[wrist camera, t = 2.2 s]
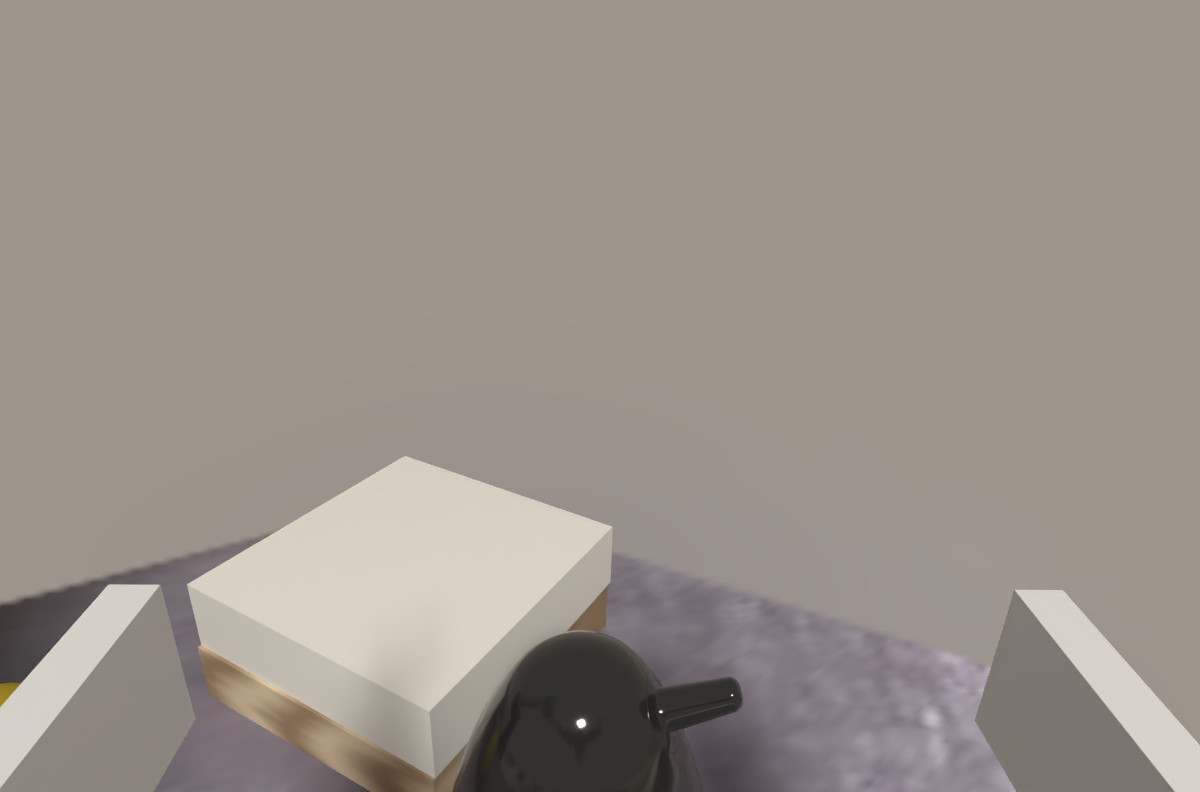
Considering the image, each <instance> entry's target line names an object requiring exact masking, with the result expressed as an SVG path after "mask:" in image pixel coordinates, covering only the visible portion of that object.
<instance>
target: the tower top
mask: <svg viewBox="0 0 1200 792" xmlns="http://www.w3.org/2000/svg"><path fill="white" fill-rule="evenodd" d="M611 552H612V527H611V526H608V525H605V524H602V523H599V522H597V521H594V520H591V519H588V518H585V517H582V516H579V515H576V514H573V513H570V512H567V511H565V510H562V509H559V508H556V507H553V506H550V505H547V504H544V503H541V502H538V501H535V500H532V499H529V498H526V497H524V496H521V495H517V494H515V493H512V492H509V491H506V490H503V489H500V488H497V487H494V486H491V485H488V484H486V483H482V482H480V481H477V480H474V479H471V478H468V477H465V476H462V475H459V474H456V473H453V472H450V471H447V470H445V469H442V468H439V467H436V466H433V465H430V464H427V463H424V462H421V461H418V460H415V459H412V458H409V457H407V456H404V457H402V458H401V459H399V460H397V461H396V462H394V463H392V464H390V465H389V466H387V467H385V468H384V469H382V470H380V471H379V472H377V473H375V474H373V475H372V476H370V477H368V478H367V479H365V480H363V481H362V482H360V483H358V484H357V485H355V486H353V487H351V488H350V489H348V490H346V491H345V492H343V493H341V494H340V495H338V496H336V497H334V498H333V499H331V500H329V501H328V502H326V503H325V504H323V505H321V506H319V507H318V508H316V509H314V510H312V511H311V512H309V513H307V514H306V515H304V516H302V517H301V518H299V519H297V520H296V521H294V522H292V523H290V524H289V525H287V526H285V527H284V528H282V529H280V530H279V531H277V532H275V533H273V534H272V535H270V536H268V537H267V538H265V539H263V540H262V541H260V542H258V543H257V544H255V545H253V546H251V547H250V548H248V549H246V550H245V551H243V552H241V553H240V554H238V555H236V556H234V557H233V558H231V559H229V560H228V561H226V562H224V563H223V564H221V565H219V566H218V567H216V568H214V569H212V570H211V571H209V572H207V573H206V574H204V575H202V576H201V577H199V578H197V579H196V580H194V581H192V582H190V583H189V584H187V587H188V591H189V595H190V599H191V603H192V608H193V612H194V616H195V620H196V624H197V628H198V633H199V637H200V641H201V645H202V646H203V647H205V648H207V649H209V650H210V651H212V652H214V653H216V654H217V655H219V656H221V657H223V658H224V659H226V660H228V661H230V662H231V663H233V664H235V665H237V666H238V667H240V668H242V669H244V670H245V671H247V672H249V673H251V674H253V675H254V676H256V677H258V678H260V679H261V680H263V681H265V682H267V683H268V684H270V685H272V686H274V687H275V688H277V689H279V690H281V691H282V692H284V693H286V694H288V695H289V696H291V697H293V698H295V699H296V700H298V701H300V702H302V703H303V704H305V705H307V706H309V707H310V708H312V709H314V710H316V711H317V712H319V713H321V714H323V715H324V716H326V717H328V718H330V719H331V720H333V721H335V722H337V723H338V724H340V725H342V726H344V727H345V728H347V729H349V730H351V731H352V732H354V733H356V734H358V735H359V736H361V737H363V738H365V739H366V740H368V741H370V742H372V743H373V744H375V745H377V746H379V747H380V748H382V749H384V750H386V751H387V752H389V753H391V754H393V755H394V756H396V757H398V758H400V759H401V760H403V761H405V762H407V763H408V764H410V765H412V766H414V767H415V768H417V769H419V770H421V771H422V772H424V773H426V774H428V775H429V776H431V777H433V778H435V779H436V777H437V776H438V775H439V774H440V773H441V772H442V771H443V770H444V768H445V767H446V766H447V765H448V764H449V763H450V762H451V761H452V759H453V758H454V757H455V756H456V755H457V754H458V753H459V752H460V750H461V749H462V748H463V747H464V746H465V745H466V744H467V743H468V741H469V739H470V737H471V734H472V732H473V730H474V727H475V725H476V723H477V721H478V719H479V717H480V715H481V713H482V711H483V709H484V707H485V705H486V703H487V702H488V700H489V698H490V696H491V694H492V693H493V691H494V689H495V688H496V686H497V685H498V683H499V682H500V680H501V679H502V677H503V676H504V675H505V673H506V672H507V671H508V670H509V668H510V667H511V666H512V665H513V664H514V663H515V661H516V660H517V659H518V658H519V657H520V656H521V655H522V654H523V653H524V652H525V651H527V650H528V649H529V648H530V647H532V646H533V645H535V644H536V643H538V642H539V641H541V640H543V639H545V638H547V637H549V636H552V635H554V634H557V633H561V632H566V631H567V630H568V629H569V628H570V627H571V626H572V625H573V624H574V622H575V621H576V620H577V619H578V618H579V617H580V616H581V615H582V614H583V612H584V611H585V610H586V609H587V608H588V607H589V606H590V605H591V603H592V602H593V601H594V600H595V599H596V598H597V597H598V596H599V594H600V593H601V592H602V591H603V590H604V589H605V588H606V587H607V585H608V584H609V583H610V577H611Z"/></svg>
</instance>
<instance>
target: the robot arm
mask: <svg viewBox="0 0 1200 792" xmlns="http://www.w3.org/2000/svg"><path fill="white" fill-rule="evenodd" d="M194 721H195V716H194V712H193V708H192V704H191V701H190V697H189V693H188V689H187V685H186V682H185V678H184V674H183V670H182V666H181V663H180V659H179V655H178V651H177V647H176V643H175V640H174V636H173V632H172V628H171V624H170V621H169V617H168V613H167V609H166V605H165V602H164V598H163V594H162V590H161V586H160V585H108V586H107V587H106V588H105V589H104V590H103V592H102V593H101V594H100V595H99V596H98V597H97V598H96V599H95V601H94V602H93V603H92V604H91V605H90V606H89V607H88V608H87V610H86V611H85V612H84V613H83V614H82V615H81V616H80V618H79V619H78V620H77V621H76V622H75V623H74V624H73V625H72V627H71V628H70V629H69V630H68V631H67V632H66V633H65V635H64V636H63V637H62V638H61V639H60V640H59V641H58V642H57V644H56V645H55V646H54V647H53V648H52V649H51V650H50V652H49V653H48V654H47V655H46V656H45V657H44V658H43V659H42V661H41V662H40V663H39V664H38V665H37V666H36V667H35V668H34V670H33V671H32V672H31V673H30V674H29V675H28V676H27V678H26V679H25V680H24V681H23V682H22V683H21V684H20V685H19V687H18V688H17V689H16V690H15V691H14V692H13V693H12V695H11V696H10V697H9V698H8V699H7V700H6V701H5V702H4V704H3V705H2V706H1V707H0V792H154V790H155V788H156V787H157V785H158V783H159V782H160V780H161V778H162V776H163V775H164V773H165V771H166V769H167V768H168V766H169V764H170V762H171V761H172V759H173V757H174V756H175V754H176V752H177V750H178V749H179V747H180V745H181V743H182V742H183V740H184V738H185V736H186V735H187V733H188V731H189V730H190V728H191V726H192V724H193V723H194ZM975 721H976V723H977V725H978V726H979V728H980V730H981V731H982V733H983V735H984V737H985V738H986V740H987V742H988V744H989V745H990V747H991V749H992V750H993V752H994V754H995V756H996V757H997V759H998V761H999V762H1000V764H1001V766H1002V768H1003V769H1004V771H1005V773H1006V774H1007V776H1008V778H1009V780H1010V781H1011V783H1012V785H1013V787H1014V788H1015V790H1016V792H1200V745H1199V744H1198V743H1197V742H1196V741H1195V740H1194V738H1193V737H1192V736H1191V735H1190V734H1189V733H1188V732H1187V730H1186V729H1185V728H1184V727H1183V726H1182V725H1181V724H1180V722H1179V721H1178V720H1177V719H1176V718H1175V717H1174V716H1173V715H1172V713H1171V712H1170V711H1169V710H1168V709H1167V708H1166V707H1165V705H1164V704H1163V703H1162V702H1161V701H1160V700H1159V699H1158V698H1157V697H1156V695H1155V694H1154V693H1153V692H1152V691H1151V690H1150V689H1149V687H1148V686H1147V685H1146V684H1145V683H1144V682H1143V681H1142V680H1141V678H1140V677H1139V676H1138V675H1137V674H1136V673H1135V671H1134V670H1133V669H1132V668H1131V667H1130V666H1129V665H1128V664H1127V663H1126V661H1125V660H1124V659H1123V658H1122V657H1121V656H1120V654H1118V652H1117V651H1116V650H1115V649H1114V648H1113V647H1112V645H1111V644H1110V643H1109V642H1108V641H1107V640H1106V639H1105V637H1104V636H1103V635H1102V634H1101V633H1100V632H1099V631H1098V630H1097V628H1096V627H1095V626H1094V625H1093V624H1092V623H1091V622H1090V621H1089V619H1088V618H1087V617H1086V616H1085V615H1084V614H1083V613H1082V611H1081V610H1080V609H1079V608H1078V607H1077V606H1076V605H1075V604H1074V602H1073V601H1072V600H1071V599H1070V598H1069V597H1068V596H1067V594H1065V592H1064V591H1063V590H1015V591H1014V593H1013V597H1012V600H1011V603H1010V607H1009V610H1008V614H1007V616H1006V620H1005V623H1004V626H1003V630H1002V633H1001V637H1000V640H999V643H998V646H997V650H996V653H995V656H994V660H993V663H992V666H991V669H990V673H989V676H988V679H987V682H986V686H985V689H984V692H983V696H982V699H981V702H980V706H979V709H978V712H977V715H976V719H975Z"/></svg>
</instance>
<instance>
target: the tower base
mask: <svg viewBox="0 0 1200 792" xmlns="http://www.w3.org/2000/svg"><path fill="white" fill-rule="evenodd" d="M606 598H607V587H606V588H605V589H604V590H603V591H602V592H601V593H600V594H599V596H598V597H597V598H596V599H595V600H594V601H593V602H592V603H591V605H590V606H589V607H588V608H587V609H586V610H585V611H584V612H583V614H582V615H581V616H580V617H579V618H578V619H577V620H576V621H575V622H574V624H573V625H572V626H571V627H570V628H569V629H568V630H567V631H573V630H587V631H594V632H599V633H600V632H601V630H602V629H603V628H604V627H605V623H606ZM198 651H199V655H200V660H201V664H202V668H203V672H204V676H205V680H206V684H207V688H208V692H209V695H210V696H212V697H214V698H215V699H217V700H219V701H220V702H222V703H224V704H225V705H227V706H229V707H230V708H232V709H234V710H235V711H237V712H239V713H240V714H242V715H244V716H245V717H247V718H249V719H250V720H252V721H254V722H255V723H257V724H259V725H260V726H262V727H264V728H265V729H267V730H269V731H270V732H272V733H274V734H275V735H277V736H279V737H280V738H282V739H284V740H285V741H287V742H289V743H290V744H292V745H294V746H295V747H297V748H299V749H300V750H302V751H304V752H305V753H307V754H309V755H310V756H312V757H314V758H315V759H317V760H319V761H320V762H322V763H324V764H325V765H327V766H329V767H331V768H332V769H334V770H336V771H337V772H339V773H341V774H342V775H344V776H346V777H347V778H349V779H351V780H352V781H354V782H356V783H357V784H359V785H361V786H362V787H364V788H366V789H367V790H369V791H371V792H452V789H453V785H454V782H455V778H456V775H457V772H458V768H459V765H460V762H461V760H462V757H463V754H464V751H465V749H466V746H467V744H468V743H467V744H466V745H465V746H464V747H463V748H462V749H461V750H460V752H459V753H458V754H457V755H456V756H455V757H454V758H453V759H452V761H451V762H450V763H449V764H448V765H447V766H446V767H445V768H444V770H443V771H442V772H441V773H440V774H439V775H438V776H437V777H436V779H435V778H433V777H431V776H429V775H428V774H426V773H424V772H422V771H421V770H419V769H417V768H415V767H414V766H412V765H410V764H408V763H407V762H405V761H403V760H401V759H400V758H398V757H396V756H394V755H393V754H391V753H389V752H387V751H386V750H384V749H382V748H380V747H379V746H377V745H375V744H373V743H372V742H370V741H368V740H366V739H365V738H363V737H361V736H359V735H358V734H356V733H354V732H352V731H351V730H349V729H347V728H345V727H344V726H342V725H340V724H338V723H337V722H335V721H333V720H331V719H330V718H328V717H326V716H324V715H323V714H321V713H319V712H317V711H316V710H314V709H312V708H310V707H309V706H307V705H305V704H303V703H302V702H300V701H298V700H296V699H295V698H293V697H291V696H289V695H288V694H286V693H284V692H282V691H281V690H279V689H277V688H275V687H274V686H272V685H270V684H268V683H267V682H265V681H263V680H261V679H260V678H258V677H256V676H254V675H253V674H251V673H249V672H247V671H245V670H244V669H242V668H240V667H238V666H237V665H235V664H233V663H231V662H230V661H228V660H226V659H224V658H223V657H221V656H219V655H217V654H216V653H214V652H212V651H210V650H209V649H207V648H205V647H203V646H202V645H200V646H199V647H198Z"/></svg>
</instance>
